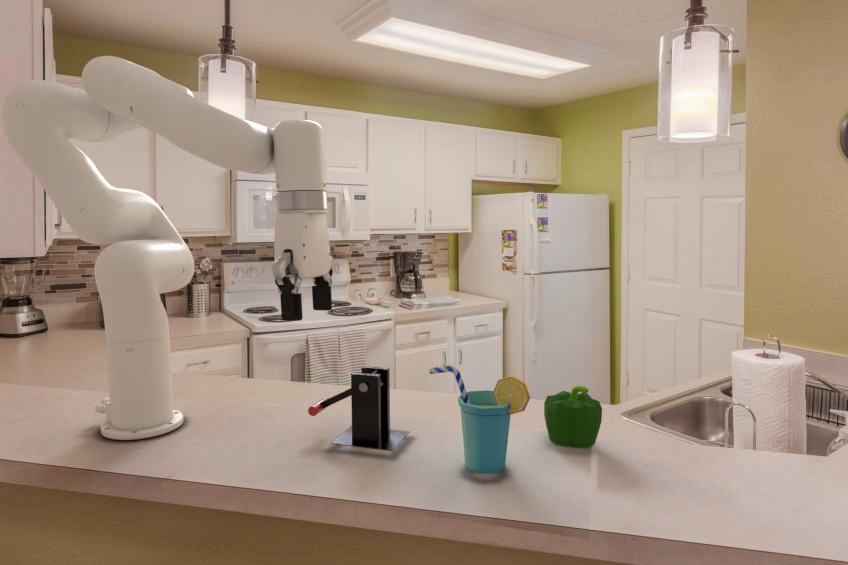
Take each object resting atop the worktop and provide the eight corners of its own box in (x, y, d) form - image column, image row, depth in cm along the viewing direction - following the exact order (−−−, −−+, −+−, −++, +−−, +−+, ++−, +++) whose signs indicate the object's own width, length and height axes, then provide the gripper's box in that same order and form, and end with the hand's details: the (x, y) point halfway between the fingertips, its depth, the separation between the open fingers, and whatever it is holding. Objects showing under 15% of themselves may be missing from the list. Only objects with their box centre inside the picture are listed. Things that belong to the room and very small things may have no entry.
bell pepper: (535, 438, 92) (536, 377, 91) (582, 434, 94) (584, 374, 93) (558, 459, 84) (560, 393, 83) (609, 455, 85) (612, 389, 84)
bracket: (331, 450, 87) (329, 375, 86) (352, 432, 95) (351, 362, 94) (392, 458, 84) (392, 380, 83) (409, 438, 92) (409, 366, 91)
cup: (423, 479, 78) (422, 371, 76) (435, 456, 85) (435, 357, 83) (527, 490, 74) (529, 377, 73) (530, 465, 82) (532, 363, 80)
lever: (311, 420, 89) (305, 406, 89) (326, 410, 94) (319, 396, 94) (375, 390, 86) (368, 376, 86) (387, 381, 90) (380, 367, 91)
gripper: (307, 206, 97) (312, 306, 99) (248, 204, 80) (255, 324, 82) (348, 204, 95) (352, 307, 96) (295, 202, 78) (302, 325, 80)
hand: (308, 314), depth 89 cm, fingers open, 9 cm apart
